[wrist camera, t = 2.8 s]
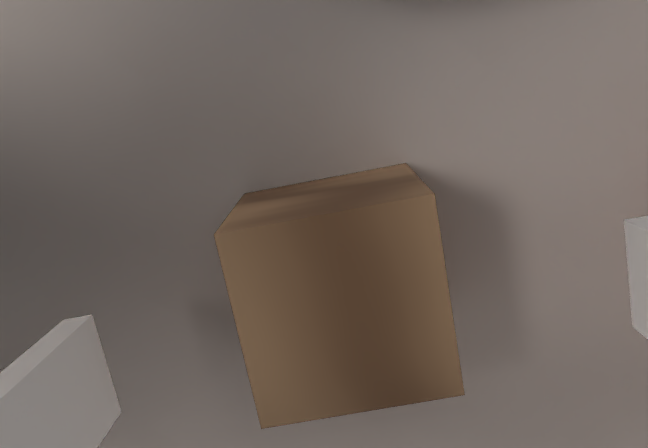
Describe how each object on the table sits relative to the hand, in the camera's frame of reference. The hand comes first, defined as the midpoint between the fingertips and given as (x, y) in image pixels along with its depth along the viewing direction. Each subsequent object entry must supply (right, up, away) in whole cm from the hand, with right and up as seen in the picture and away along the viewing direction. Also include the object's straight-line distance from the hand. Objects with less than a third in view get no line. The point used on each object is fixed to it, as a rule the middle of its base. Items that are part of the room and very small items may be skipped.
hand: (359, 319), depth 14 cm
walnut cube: (0, +1, +4) cm, 4 cm away
